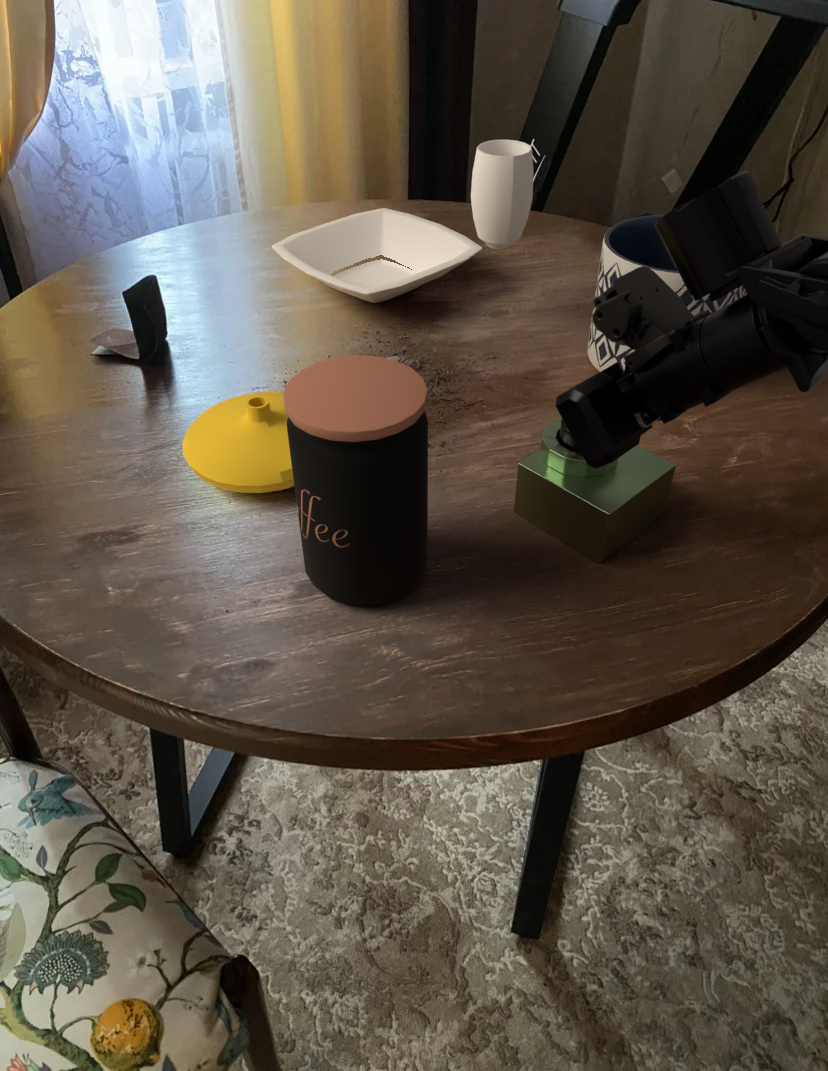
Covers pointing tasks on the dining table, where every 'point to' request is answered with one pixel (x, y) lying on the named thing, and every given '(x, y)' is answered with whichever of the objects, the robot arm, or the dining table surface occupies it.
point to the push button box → (591, 495)
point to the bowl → (377, 252)
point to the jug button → (567, 438)
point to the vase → (242, 444)
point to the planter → (624, 253)
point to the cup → (501, 191)
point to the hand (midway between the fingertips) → (584, 417)
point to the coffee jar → (360, 476)
